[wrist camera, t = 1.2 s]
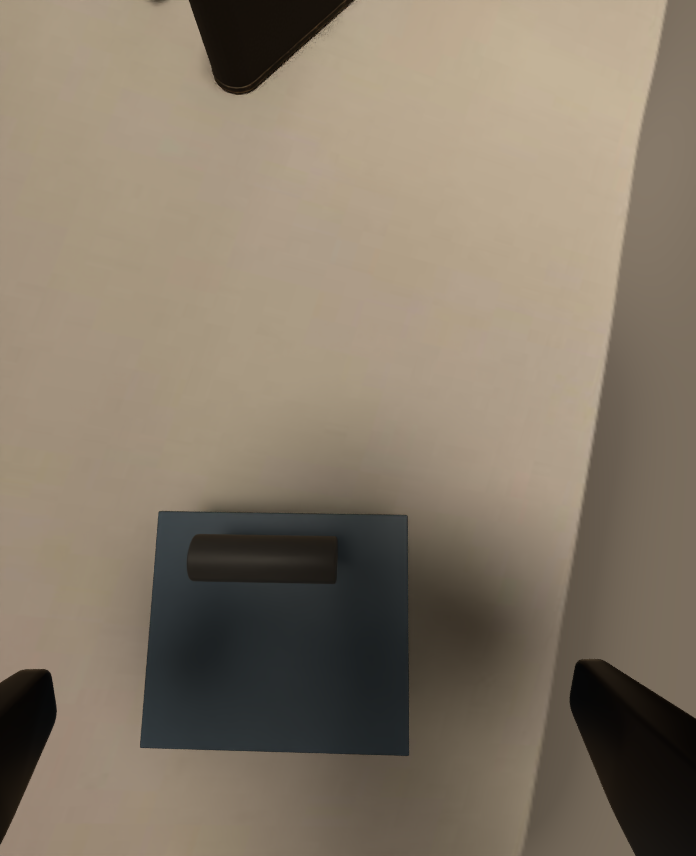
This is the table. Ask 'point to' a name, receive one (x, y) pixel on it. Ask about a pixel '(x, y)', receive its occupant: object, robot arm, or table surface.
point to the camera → (256, 35)
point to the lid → (279, 634)
